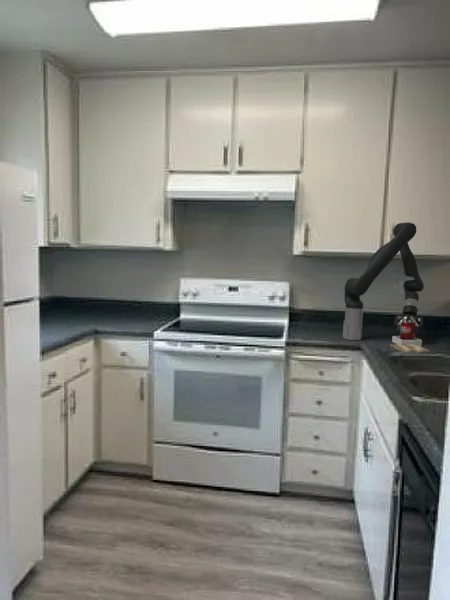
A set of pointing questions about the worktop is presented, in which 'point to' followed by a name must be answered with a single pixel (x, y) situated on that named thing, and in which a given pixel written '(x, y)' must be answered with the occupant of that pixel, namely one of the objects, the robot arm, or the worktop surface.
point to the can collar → (406, 341)
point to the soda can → (407, 330)
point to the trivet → (409, 348)
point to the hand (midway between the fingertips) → (407, 332)
